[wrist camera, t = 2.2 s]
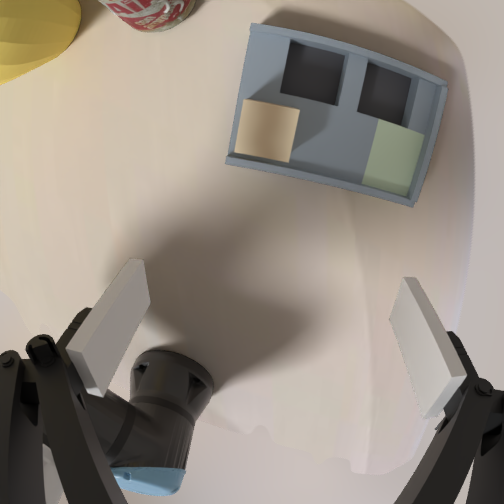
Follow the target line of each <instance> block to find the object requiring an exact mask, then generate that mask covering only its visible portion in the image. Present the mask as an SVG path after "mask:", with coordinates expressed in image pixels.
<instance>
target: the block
mask: <svg viewBox="0 0 504 504" xmlns="http://www.w3.org/2000/svg"><path fill="white" fill-rule="evenodd" d="M299 112H300V110H299V109H297V108H294V107H289V106H284V105H279V104H274V103H269V102H263V101H258V100H252V99H244V100H243V105H242V111H241V116H240V122H239V128H238V133H237V139H236V145H235V151H234V152H236V153H241V154H247V155H252V156H258V157H263V158H268V159H273V160H278V161H283V162H288V163H289V158H290V154H291V149H292V145H293V140H294V135H295V131H296V126H297V121H298V117H299Z"/></svg>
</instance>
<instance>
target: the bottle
mask: <svg viewBox="0 0 504 504" xmlns="http://www.w3.org/2000/svg"><path fill="white" fill-rule="evenodd" d="M98 1H99V2H101V3H102V4H103V5H105V6H106V7H107V8H108V9H109V10H110V11H111V12H112V13H113V14H115V15H117V16H118V17H120V18H121V19H122V20H123V21H125V22H126V23H127V24H129V25H130V26H131V27H132V28H134V29H136V30H138V31H141V32H161V31H165V30H168V29H171V28H173V27H174V26H176V25H177V24H179V23H180V22H181V21H183V20H184V19H185V18H186V17H187V16H188V14H189V13H190V12H191V10H192V9H193V7H194V4H195V1H196V0H98Z"/></svg>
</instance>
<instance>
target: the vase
mask: <svg viewBox="0 0 504 504" xmlns="http://www.w3.org/2000/svg"><path fill="white" fill-rule="evenodd" d="M80 21H81V6H80V4H79V1H78V0H0V85H2V84H4V83H6V82H9V81H11V80H13V79H15V78H17V77H19V76H21V75H23V74H25V73H27V72H29V71H31V70H33V69H35V68H37V67H39V66H41V65H43V64H45V63H47V62H49V61H51V60H53V59H54V58H56V57H58V56H59V55H60V54H61V53H62V52H64V51H65V50H66V49H67V47H68V46H69V45H70V43H71V42H72V41H73V39H74V37H75V35H76V33H77V31H78V29H79V25H80Z"/></svg>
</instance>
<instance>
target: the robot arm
mask: <svg viewBox="0 0 504 504" xmlns="http://www.w3.org/2000/svg"><path fill="white" fill-rule="evenodd" d="M150 303H151V301H150V296H149V290H148V284H147V279H146V273H145V267H144V260H143V259H132V258H130V259H129V260H128V262H127V263H126V264H125V266H124V267H123V268H122V269H121V271H120V272H119V273H118V275H117V276H116V277H115V279H114V280H113V281H112V283H111V284H110V285H109V287H108V288H107V289H106V291H105V292H104V293H103V295H102V296H101V298H100V299H99V300H98V302H97V303H96V305H95V306H94V307H93V308H87V307H86V308H85V309H83V310H82V311H80V312H79V313H78V314H77V315H76V317H75V318H74V319H73V321H72V323H70V325H69V326H68V329H66V330H65V332H64V333H63V335H62V336H61V337H60V339H59V340H58V342H57V343H56V344H55V342H54V340H53V338H52V337H51V336H49V335H46V334H42V335H37V336H35V337H34V338H32V339H31V340H30V341H29V342H28V343H27V345H26V352H27V354H28V356H29V358H30V359H21V357H20V356H19V354H18V352H16V351H14V350H9V351H5V352H4V353H2V354H1V355H0V504H58V502H59V500H60V498H61V496H62V493H63V491H64V492H65V495H66V498H67V500H68V503H69V504H128V503H127V501H126V499H125V497H124V495H123V493H122V491H121V489H120V488H122V489H125V490H129V491H132V492H136V493H141V494H146V495H154V496H167V495H172V494H175V493H176V492H177V491H178V490H179V489H180V486H181V483H182V480H183V477H184V474H185V473H186V471H185V468H186V463H187V459H188V454H189V449H190V445H191V440H192V435H193V430H194V426H195V422H196V420H197V419H198V418H199V416H200V415H201V413H202V412H203V410H204V409H205V407H206V406H207V404H208V403H209V401H210V399H211V396H212V391H213V381H212V378H211V376H210V375H209V373H208V372H207V371H206V370H205V369H204V368H203V367H202V366H201V365H199V364H198V363H196V362H195V361H193V360H191V359H190V358H187V357H185V356H183V355H180V354H177V353H173V352H168V351H149V352H146V353H143V354H141V355H140V356H139V357H138V358H137V359H136V361H135V363H134V365H133V367H132V370H131V377H130V400H129V402H127V401H126V400H124V399H122V398H121V397H119V396H118V395H116V394H115V393H113V392H112V391H110V390H109V389H108V386H109V384H110V382H111V380H112V378H113V376H114V374H115V372H116V370H117V368H118V366H119V364H120V362H121V359H122V357H123V355H124V353H125V351H126V350H127V348H128V346H129V344H130V342H131V340H132V338H133V336H134V334H135V332H136V330H137V328H138V326H139V324H140V322H141V320H142V318H143V317H144V315H145V313H146V311H147V309H148V307H149V305H150ZM389 320H390V322H391V325H392V328H393V330H394V333H395V336H396V339H397V341H398V344H399V347H400V350H401V353H402V356H403V359H404V362H405V364H406V367H407V371H408V374H409V377H410V380H411V383H412V386H413V389H414V392H415V396H416V399H417V402H418V406H419V409H420V413H421V416H422V419H427V418H433V417H437V416H438V415H439V414H440V413H441V411H442V410H443V409H444V412H445V415H446V416H445V417H444V418H443V420H442V421H441V422H440V423H439V424H438V426H437V427H436V428H435V430H437V429H438V430H437V432H436V434H435V436H434V438H433V440H432V442H431V444H430V446H429V447H428V449H427V451H426V453H425V455H424V456H423V458H422V460H421V462H420V464H419V465H418V467H417V469H416V470H415V472H414V474H413V475H412V477H411V478H410V480H409V482H408V483H407V485H406V486H405V488H404V489H403V491H402V493H401V494H400V496H399V497H398V498H397V500H396V501H395V503H394V504H454V502H455V500H456V498H457V496H458V494H459V492H460V489H461V487H462V485H463V483H464V481H465V478H466V476H467V474H468V472H469V469H470V467H471V464H472V462H473V460H474V464H473V470H472V476H471V481H470V486H469V491H468V496H467V500H466V504H504V391H501V390H495V389H494V388H493V386H492V385H491V383H490V382H488V381H487V380H486V379H482V378H479V377H478V374H477V372H476V370H475V368H474V366H473V364H472V362H471V360H470V358H469V356H468V355H467V352H466V351H465V348H464V346H463V344H462V342H461V340H460V339H459V338H458V337H457V336H456V335H455V334H454V333H453V332H452V331H447V332H446V330H445V328H444V327H443V325H442V323H441V321H440V319H439V317H438V315H437V313H436V312H435V310H434V308H433V306H432V304H431V303H430V301H429V299H428V297H427V296H426V294H425V292H424V290H423V289H422V287H421V285H420V283H419V282H418V280H417V278H415V277H403V279H402V282H401V286H400V289H399V292H398V295H397V298H396V301H395V304H394V307H393V310H392V312H391V315H390V318H389Z"/></svg>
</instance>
